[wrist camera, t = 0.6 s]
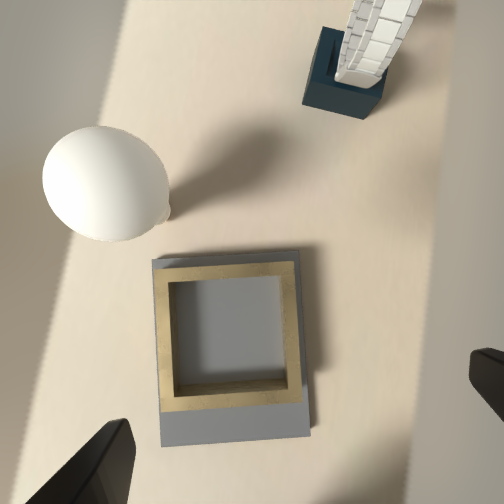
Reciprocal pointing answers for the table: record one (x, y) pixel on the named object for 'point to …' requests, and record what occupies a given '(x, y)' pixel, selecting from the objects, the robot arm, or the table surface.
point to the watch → (358, 57)
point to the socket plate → (230, 348)
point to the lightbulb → (106, 184)
